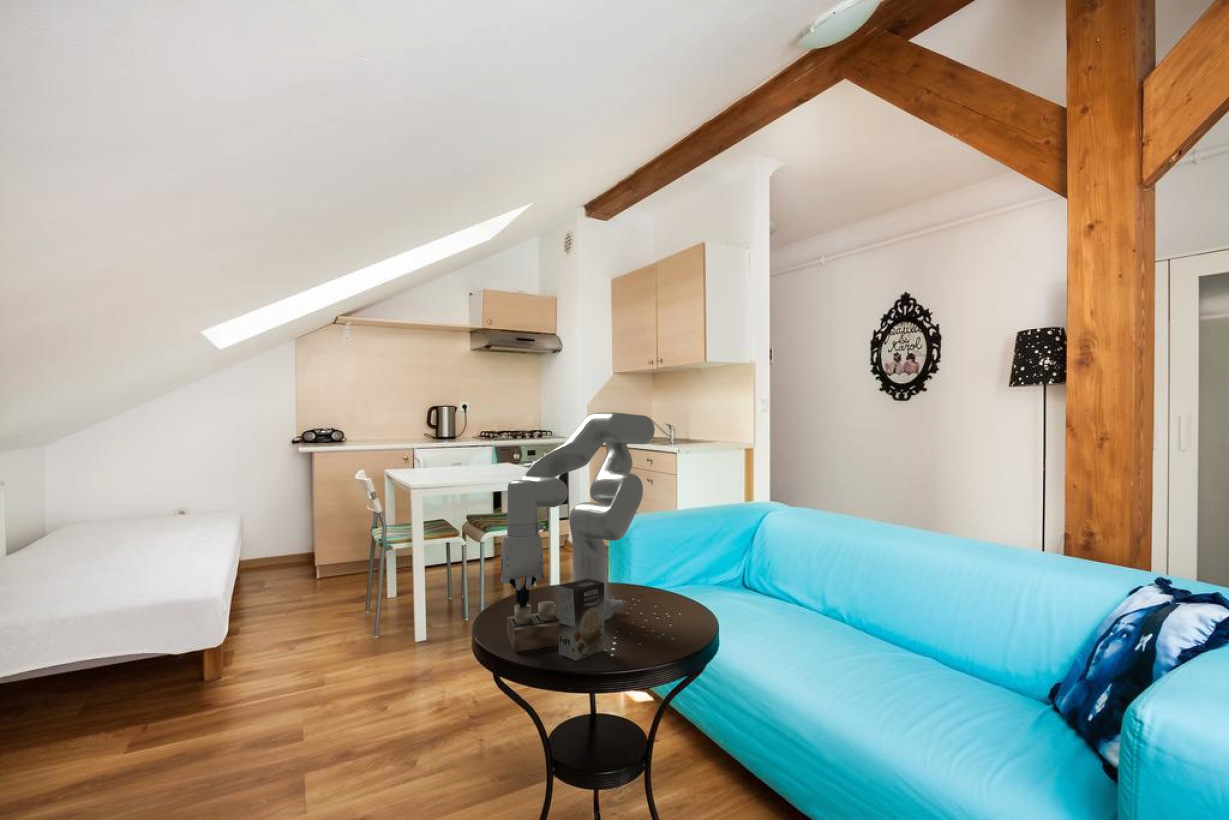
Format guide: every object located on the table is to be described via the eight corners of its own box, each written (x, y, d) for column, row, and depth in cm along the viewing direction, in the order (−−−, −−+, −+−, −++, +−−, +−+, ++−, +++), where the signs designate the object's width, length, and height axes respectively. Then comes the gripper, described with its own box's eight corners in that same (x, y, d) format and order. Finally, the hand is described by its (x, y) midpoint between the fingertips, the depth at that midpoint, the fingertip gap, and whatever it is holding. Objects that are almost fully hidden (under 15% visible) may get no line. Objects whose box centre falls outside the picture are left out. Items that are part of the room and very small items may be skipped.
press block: (553, 630, 147) (553, 610, 148) (563, 644, 138) (563, 622, 138) (506, 637, 143) (506, 615, 143) (514, 651, 134) (514, 629, 134)
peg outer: (529, 621, 142) (528, 603, 142) (532, 626, 139) (532, 607, 139) (513, 623, 141) (513, 604, 141) (516, 628, 137) (516, 609, 137)
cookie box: (576, 662, 128) (576, 590, 128) (558, 654, 132) (558, 585, 133) (605, 650, 135) (604, 582, 135) (586, 643, 139) (586, 577, 139)
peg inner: (552, 618, 144) (552, 600, 145) (556, 623, 141) (556, 604, 141) (536, 620, 143) (536, 602, 143) (540, 625, 139) (540, 606, 139)
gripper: (548, 525, 146) (548, 597, 146) (489, 529, 141) (489, 603, 141) (555, 530, 139) (555, 605, 139) (494, 534, 134) (494, 613, 134)
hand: (522, 604), depth 140 cm, fingers closed
